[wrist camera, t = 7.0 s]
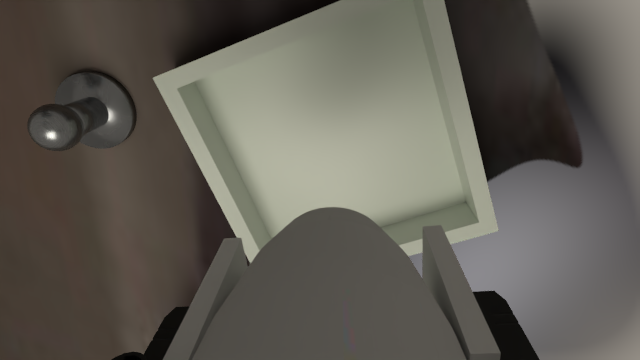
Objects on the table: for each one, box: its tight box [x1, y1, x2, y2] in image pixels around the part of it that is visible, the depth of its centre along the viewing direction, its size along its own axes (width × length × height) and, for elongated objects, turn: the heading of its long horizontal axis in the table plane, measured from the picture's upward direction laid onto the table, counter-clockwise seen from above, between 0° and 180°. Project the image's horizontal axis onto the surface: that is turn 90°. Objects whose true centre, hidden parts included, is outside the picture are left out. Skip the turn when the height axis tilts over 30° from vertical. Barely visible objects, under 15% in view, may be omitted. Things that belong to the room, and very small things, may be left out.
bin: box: [153, 0, 498, 263], centre depth 30 cm, size 19×19×4 cm
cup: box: [192, 207, 467, 360], centre depth 13 cm, size 8×8×10 cm
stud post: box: [27, 71, 136, 151], centre depth 29 cm, size 6×6×7 cm
